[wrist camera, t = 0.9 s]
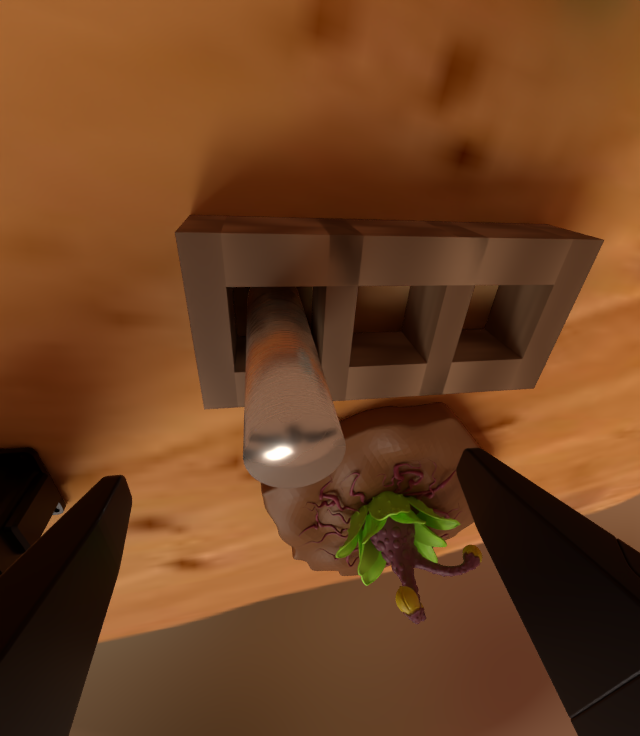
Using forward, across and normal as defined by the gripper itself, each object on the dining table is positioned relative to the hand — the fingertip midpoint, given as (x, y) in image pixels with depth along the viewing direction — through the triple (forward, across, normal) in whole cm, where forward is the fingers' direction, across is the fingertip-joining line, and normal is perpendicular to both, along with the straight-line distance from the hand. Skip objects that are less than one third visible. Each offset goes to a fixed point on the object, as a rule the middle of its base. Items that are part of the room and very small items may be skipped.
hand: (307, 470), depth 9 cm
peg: (+13, 0, 0) cm, 13 cm away
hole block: (+13, -6, 0) cm, 14 cm away
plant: (+14, -9, +18) cm, 25 cm away
